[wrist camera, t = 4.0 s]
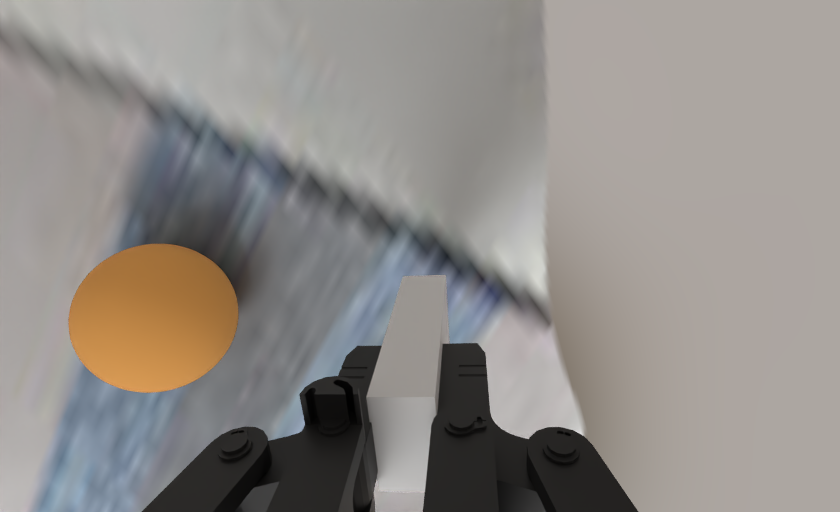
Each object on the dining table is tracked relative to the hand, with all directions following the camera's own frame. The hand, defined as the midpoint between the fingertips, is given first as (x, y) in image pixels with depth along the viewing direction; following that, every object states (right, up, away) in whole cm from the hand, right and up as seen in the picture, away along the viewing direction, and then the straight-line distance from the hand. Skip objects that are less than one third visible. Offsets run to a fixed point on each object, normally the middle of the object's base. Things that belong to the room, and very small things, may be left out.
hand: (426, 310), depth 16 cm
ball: (-10, 0, +1) cm, 10 cm away
